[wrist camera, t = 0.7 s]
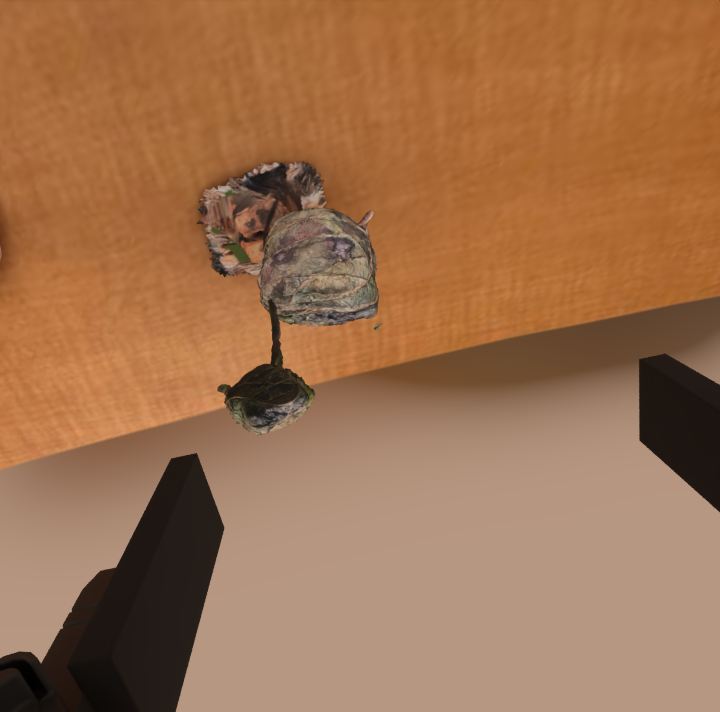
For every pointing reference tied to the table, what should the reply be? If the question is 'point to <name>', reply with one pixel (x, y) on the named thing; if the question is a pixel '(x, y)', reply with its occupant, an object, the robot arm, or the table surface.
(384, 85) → the table surface
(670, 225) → the table surface
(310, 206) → the stacked rock sculpture
